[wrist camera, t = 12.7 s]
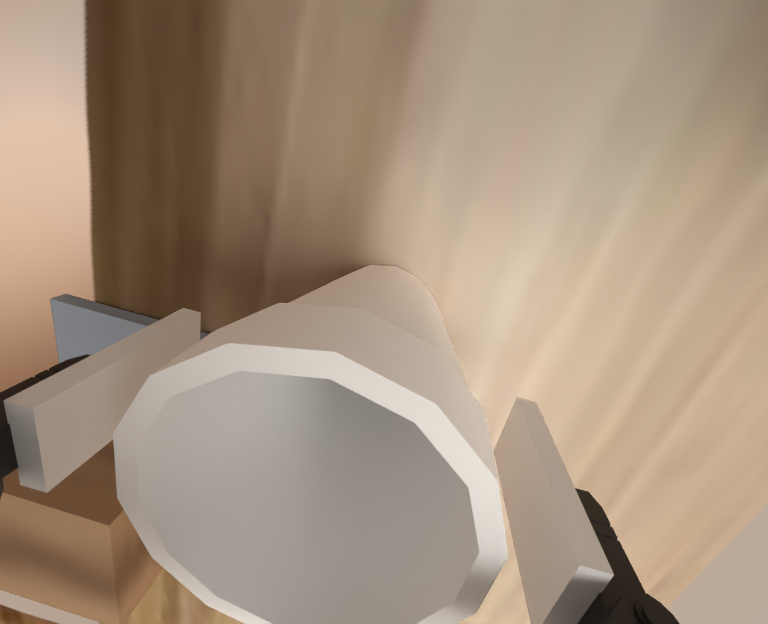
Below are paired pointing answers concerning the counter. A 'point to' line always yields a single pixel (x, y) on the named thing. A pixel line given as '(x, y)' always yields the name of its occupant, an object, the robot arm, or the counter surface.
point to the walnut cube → (74, 544)
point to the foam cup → (319, 463)
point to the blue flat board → (92, 325)
